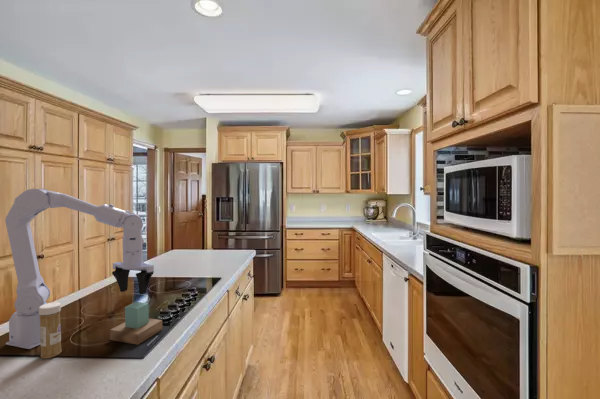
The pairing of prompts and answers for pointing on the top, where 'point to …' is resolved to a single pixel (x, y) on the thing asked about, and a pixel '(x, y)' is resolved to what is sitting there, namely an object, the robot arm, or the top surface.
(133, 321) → the teal block
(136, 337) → the walnut base
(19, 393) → the top surface
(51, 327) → the sprinkles bottle
